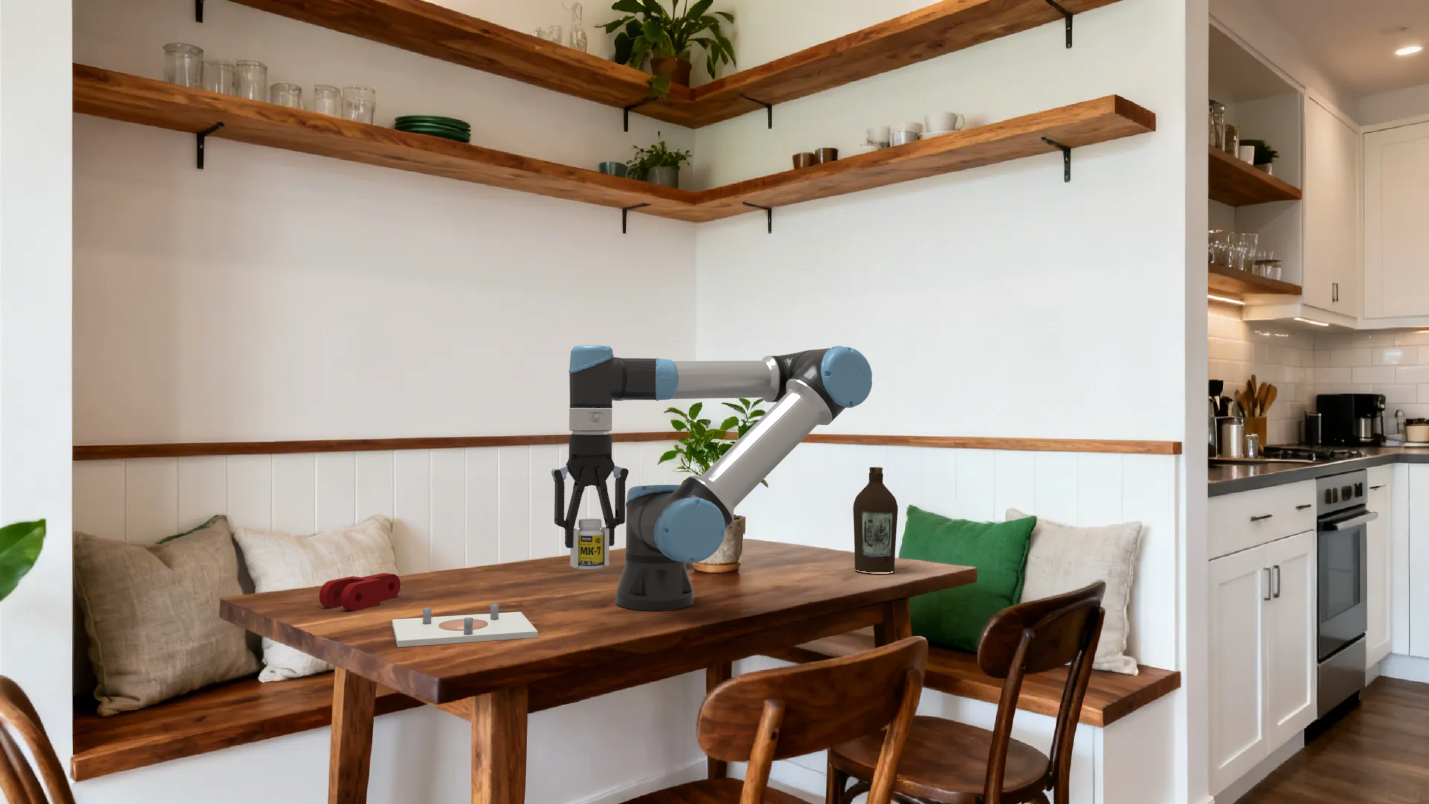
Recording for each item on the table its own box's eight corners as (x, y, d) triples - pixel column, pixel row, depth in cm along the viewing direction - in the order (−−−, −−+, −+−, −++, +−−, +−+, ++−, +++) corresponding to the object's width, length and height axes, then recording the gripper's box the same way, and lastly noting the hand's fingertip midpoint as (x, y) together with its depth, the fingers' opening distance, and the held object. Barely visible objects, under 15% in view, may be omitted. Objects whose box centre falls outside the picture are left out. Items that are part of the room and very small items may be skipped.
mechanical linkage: (347, 613, 174) (348, 586, 174) (318, 609, 177) (319, 582, 177) (409, 598, 189) (410, 573, 189) (381, 595, 192) (382, 570, 192)
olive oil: (850, 567, 235) (851, 465, 235) (893, 568, 234) (895, 466, 234) (854, 574, 224) (856, 468, 224) (900, 576, 224) (901, 469, 224)
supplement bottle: (577, 570, 165) (577, 521, 165) (574, 565, 170) (574, 518, 170) (605, 569, 166) (605, 520, 166) (601, 564, 171) (601, 517, 171)
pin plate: (520, 617, 172) (520, 597, 172) (537, 637, 158) (538, 616, 158) (392, 625, 164) (392, 604, 164) (397, 647, 149) (397, 624, 150)
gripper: (544, 433, 161) (543, 572, 161) (645, 433, 168) (644, 566, 168) (535, 432, 168) (534, 565, 168) (633, 432, 175) (632, 559, 175)
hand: (589, 565), depth 168 cm, fingers closed on supplement bottle, 5 cm apart
